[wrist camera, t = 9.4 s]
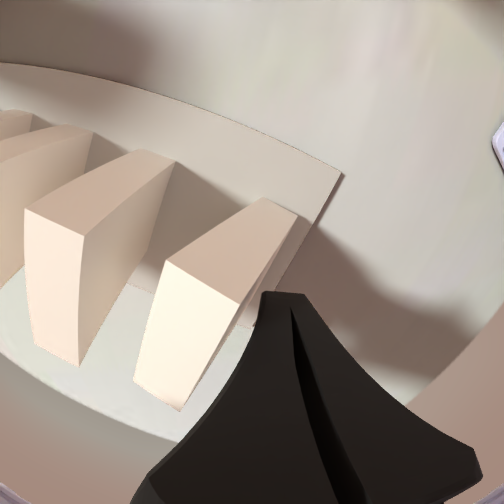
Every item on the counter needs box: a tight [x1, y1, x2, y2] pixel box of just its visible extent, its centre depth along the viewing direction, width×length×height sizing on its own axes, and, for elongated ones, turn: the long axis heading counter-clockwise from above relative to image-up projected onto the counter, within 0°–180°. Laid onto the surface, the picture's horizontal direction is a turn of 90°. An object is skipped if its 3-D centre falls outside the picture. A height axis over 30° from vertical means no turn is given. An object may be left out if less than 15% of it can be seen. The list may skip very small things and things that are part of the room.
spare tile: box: [133, 197, 298, 412], centre depth 9 cm, size 2×4×7 cm, turn 156°
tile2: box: [24, 148, 176, 367], centre depth 9 cm, size 2×4×7 cm, turn 156°
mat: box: [0, 62, 341, 329], centre depth 11 cm, size 22×9×1 cm, turn 66°
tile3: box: [0, 124, 94, 289], centre depth 8 cm, size 2×4×7 cm, turn 156°
